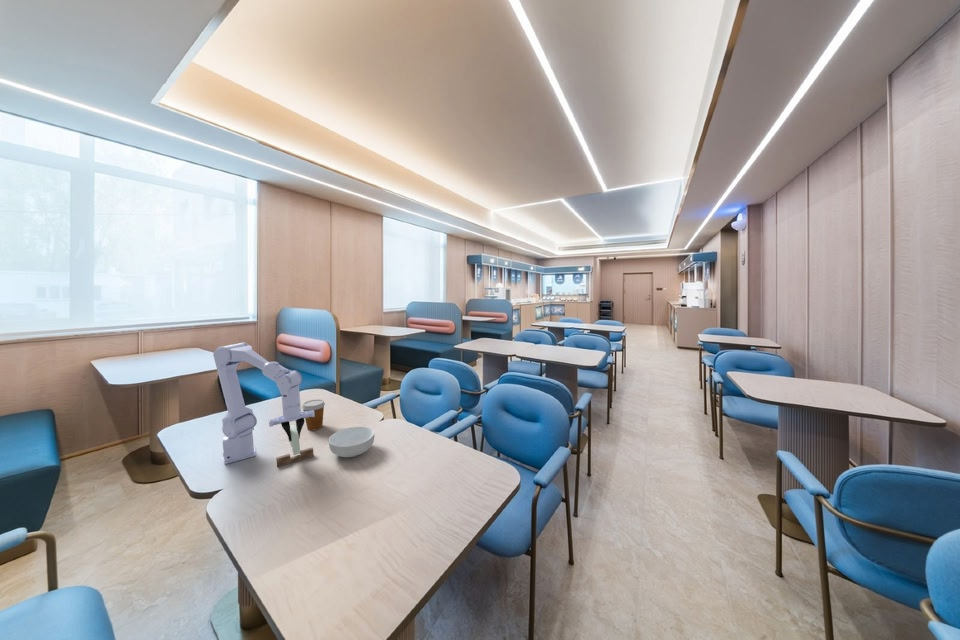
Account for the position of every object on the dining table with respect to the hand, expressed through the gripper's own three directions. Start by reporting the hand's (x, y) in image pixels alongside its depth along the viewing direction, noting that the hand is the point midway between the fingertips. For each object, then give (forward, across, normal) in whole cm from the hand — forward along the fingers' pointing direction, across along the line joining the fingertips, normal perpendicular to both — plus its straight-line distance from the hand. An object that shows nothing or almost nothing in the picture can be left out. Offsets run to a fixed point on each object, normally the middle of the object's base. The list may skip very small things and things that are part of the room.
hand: (294, 439), depth 118 cm
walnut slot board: (+8, 0, 0) cm, 8 cm away
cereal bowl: (+9, +19, -7) cm, 22 cm away
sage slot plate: (+3, 0, 0) cm, 3 cm away
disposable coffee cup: (+9, +11, +27) cm, 30 cm away
